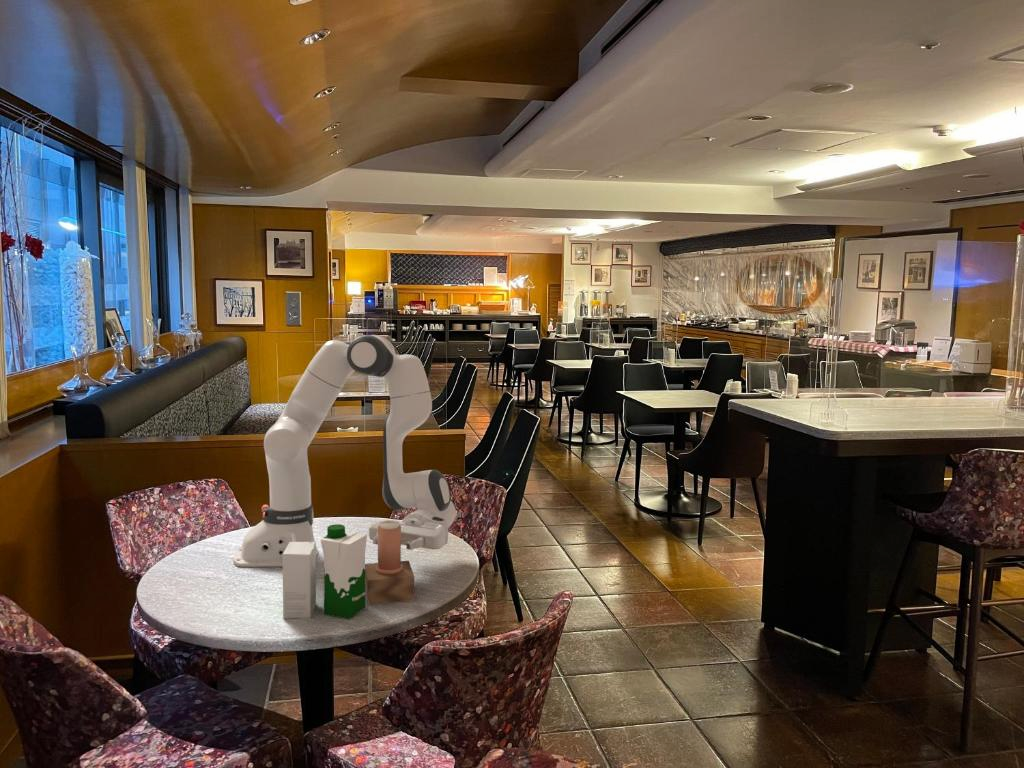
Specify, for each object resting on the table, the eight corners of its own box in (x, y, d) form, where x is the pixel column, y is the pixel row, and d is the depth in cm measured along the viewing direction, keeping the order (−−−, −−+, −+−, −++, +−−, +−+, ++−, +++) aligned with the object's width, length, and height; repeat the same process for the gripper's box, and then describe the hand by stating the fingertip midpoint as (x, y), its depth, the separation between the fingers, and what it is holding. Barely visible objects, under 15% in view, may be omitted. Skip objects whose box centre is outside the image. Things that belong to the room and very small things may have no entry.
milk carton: (339, 600, 180) (338, 520, 178) (371, 606, 177) (371, 525, 175) (317, 615, 172) (316, 531, 170) (351, 621, 169) (350, 536, 166)
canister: (376, 576, 180) (377, 528, 179) (374, 566, 187) (374, 520, 185) (404, 573, 182) (404, 527, 181) (401, 564, 188) (401, 518, 187)
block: (368, 604, 178) (368, 580, 178) (365, 586, 189) (364, 563, 188) (414, 600, 181) (414, 576, 180) (408, 583, 192) (408, 560, 191)
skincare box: (290, 604, 178) (288, 541, 176) (318, 603, 178) (317, 540, 176) (282, 619, 169) (280, 553, 167) (312, 619, 170) (310, 553, 168)
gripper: (384, 511, 201) (355, 526, 188) (453, 521, 194) (428, 537, 181) (384, 534, 202) (356, 550, 189) (453, 544, 194) (428, 562, 182)
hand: (392, 543), depth 185 cm, fingers open, 8 cm apart
